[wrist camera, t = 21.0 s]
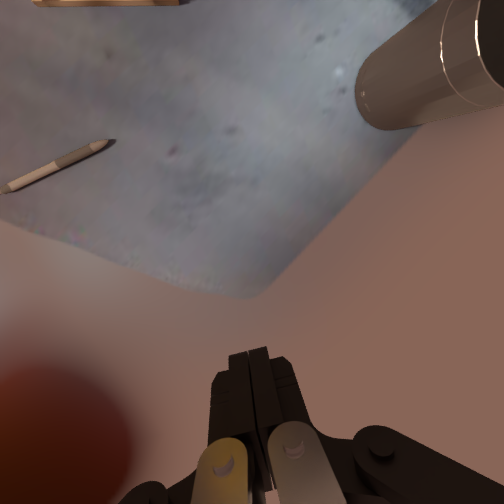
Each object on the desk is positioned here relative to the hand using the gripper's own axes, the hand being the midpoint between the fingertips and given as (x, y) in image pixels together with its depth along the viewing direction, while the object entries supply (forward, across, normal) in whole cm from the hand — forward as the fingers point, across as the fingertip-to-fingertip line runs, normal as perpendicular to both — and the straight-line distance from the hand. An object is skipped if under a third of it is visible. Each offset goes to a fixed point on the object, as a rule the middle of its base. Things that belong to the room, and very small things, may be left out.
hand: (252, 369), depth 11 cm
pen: (+28, +18, -12) cm, 35 cm away
